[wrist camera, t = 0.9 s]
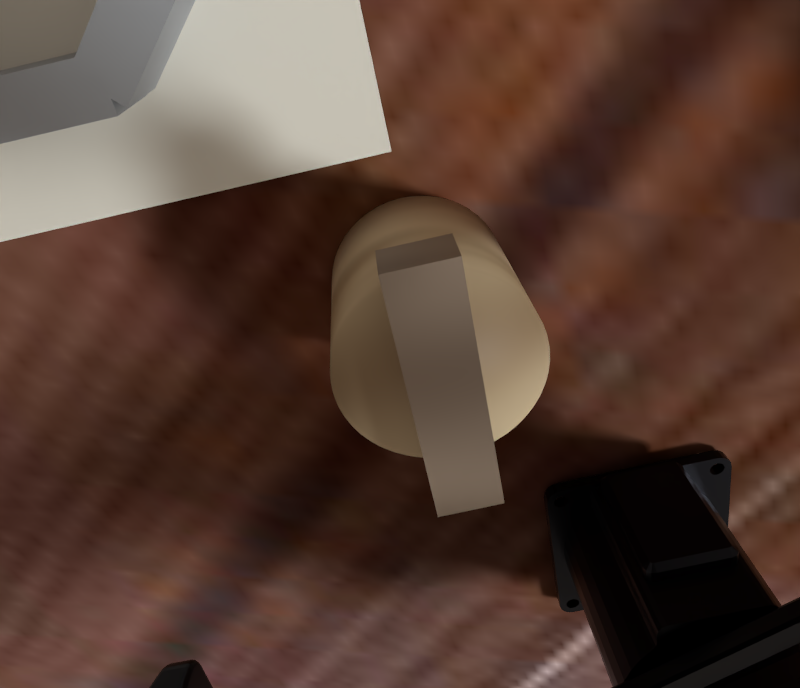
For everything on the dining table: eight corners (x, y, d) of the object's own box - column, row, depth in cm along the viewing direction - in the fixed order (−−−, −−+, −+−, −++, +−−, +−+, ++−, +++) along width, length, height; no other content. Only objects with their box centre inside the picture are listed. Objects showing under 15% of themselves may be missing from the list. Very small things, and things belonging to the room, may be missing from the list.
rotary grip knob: (515, 352, 21) (576, 487, 16) (360, 387, 21) (367, 531, 16) (487, 152, 18) (551, 235, 12) (304, 193, 18) (290, 294, 13)
